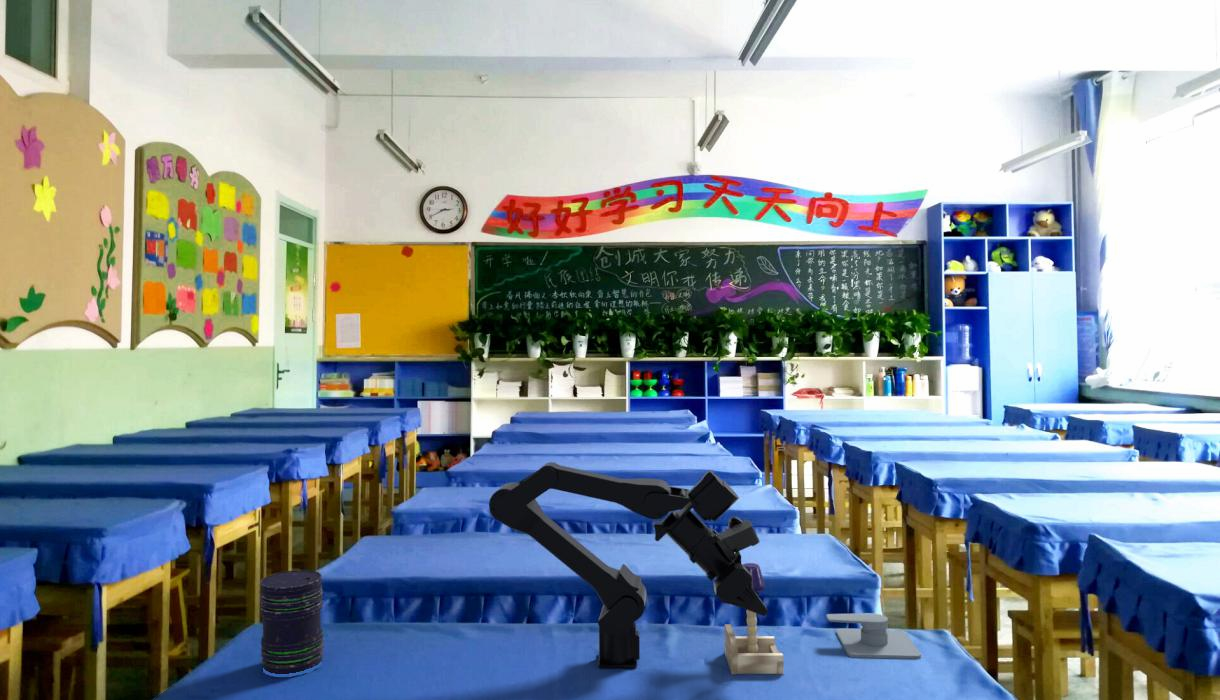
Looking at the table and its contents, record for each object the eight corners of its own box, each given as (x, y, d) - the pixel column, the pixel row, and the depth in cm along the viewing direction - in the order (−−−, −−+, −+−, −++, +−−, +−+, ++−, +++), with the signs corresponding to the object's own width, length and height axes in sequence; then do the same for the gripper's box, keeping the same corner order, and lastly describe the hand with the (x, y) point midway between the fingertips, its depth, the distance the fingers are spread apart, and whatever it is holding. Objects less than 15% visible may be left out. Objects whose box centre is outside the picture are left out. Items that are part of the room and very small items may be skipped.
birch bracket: (731, 674, 137) (731, 644, 137) (724, 652, 146) (724, 624, 146) (783, 674, 137) (783, 644, 137) (773, 652, 146) (773, 624, 146)
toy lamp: (732, 663, 141) (731, 565, 141) (747, 655, 145) (746, 559, 145) (756, 670, 138) (756, 570, 138) (771, 662, 142) (770, 564, 141)
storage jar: (250, 678, 137) (248, 587, 136) (276, 654, 146) (274, 569, 146) (310, 678, 136) (309, 587, 136) (332, 654, 146) (331, 570, 146)
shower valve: (820, 604, 156) (902, 605, 155) (820, 632, 156) (902, 634, 155) (833, 628, 144) (922, 629, 143) (833, 659, 144) (922, 661, 143)
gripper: (737, 518, 131) (807, 588, 132) (723, 494, 150) (784, 555, 150) (687, 568, 132) (757, 637, 132) (679, 538, 150) (740, 599, 151)
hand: (761, 604), depth 141 cm, fingers open, 9 cm apart
